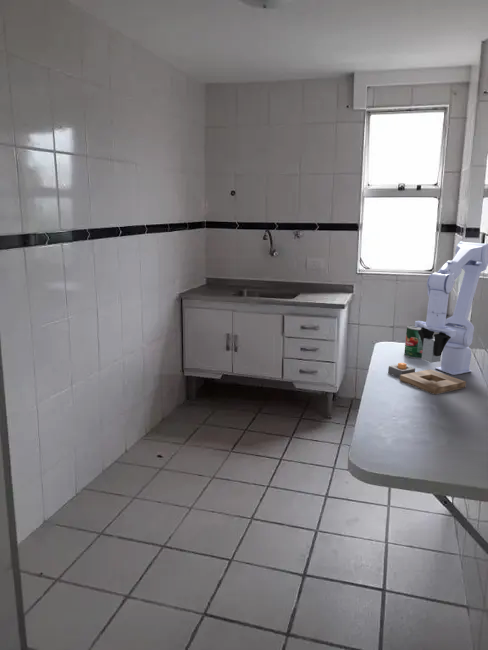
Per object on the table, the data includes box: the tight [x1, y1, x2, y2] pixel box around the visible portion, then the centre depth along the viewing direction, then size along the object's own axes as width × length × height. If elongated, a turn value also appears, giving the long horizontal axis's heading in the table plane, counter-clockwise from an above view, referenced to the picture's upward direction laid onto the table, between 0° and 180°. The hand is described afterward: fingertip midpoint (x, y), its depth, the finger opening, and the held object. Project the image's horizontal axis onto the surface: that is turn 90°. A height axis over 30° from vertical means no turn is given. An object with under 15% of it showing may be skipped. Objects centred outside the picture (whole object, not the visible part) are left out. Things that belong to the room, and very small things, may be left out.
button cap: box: [397, 362, 408, 369], centre depth 183 cm, size 3×3×2 cm
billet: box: [421, 336, 442, 363], centre depth 174 cm, size 4×4×7 cm
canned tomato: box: [403, 324, 423, 360], centre depth 206 cm, size 8×8×11 cm
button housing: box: [387, 364, 416, 378], centre depth 183 cm, size 6×6×2 cm
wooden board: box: [399, 369, 467, 395], centre depth 174 cm, size 14×14×2 cm
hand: (431, 353), depth 175 cm, fingers closed on billet, 4 cm apart
